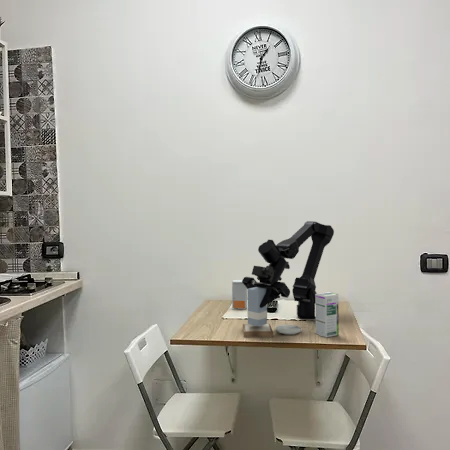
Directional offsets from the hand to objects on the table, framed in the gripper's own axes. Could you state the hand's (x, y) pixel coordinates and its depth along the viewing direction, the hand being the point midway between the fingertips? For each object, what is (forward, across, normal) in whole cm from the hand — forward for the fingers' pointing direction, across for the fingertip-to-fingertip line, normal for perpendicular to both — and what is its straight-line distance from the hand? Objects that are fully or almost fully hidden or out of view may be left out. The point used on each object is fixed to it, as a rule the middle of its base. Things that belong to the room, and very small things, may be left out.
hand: (254, 306), depth 169 cm
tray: (+6, 0, +8) cm, 10 cm away
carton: (+4, 0, +6) cm, 7 cm away
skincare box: (-10, -30, +24) cm, 39 cm away
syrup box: (-4, +19, +19) cm, 27 cm away
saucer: (0, +8, +13) cm, 16 cm away
